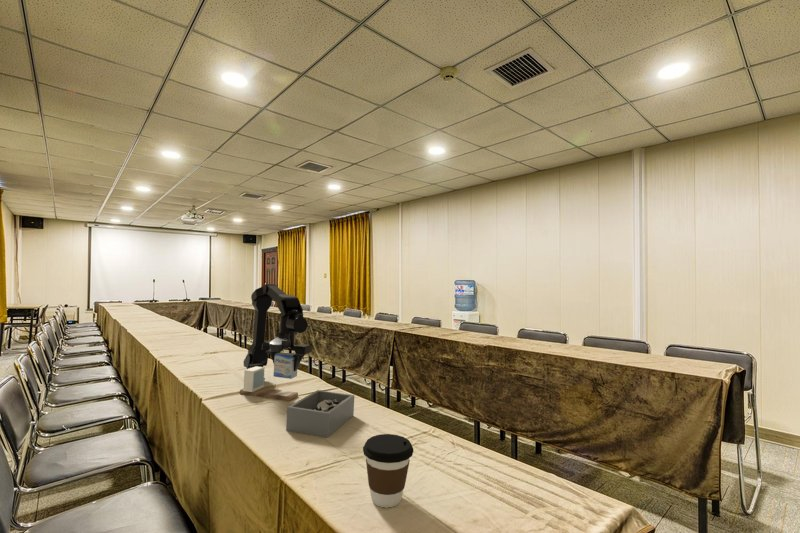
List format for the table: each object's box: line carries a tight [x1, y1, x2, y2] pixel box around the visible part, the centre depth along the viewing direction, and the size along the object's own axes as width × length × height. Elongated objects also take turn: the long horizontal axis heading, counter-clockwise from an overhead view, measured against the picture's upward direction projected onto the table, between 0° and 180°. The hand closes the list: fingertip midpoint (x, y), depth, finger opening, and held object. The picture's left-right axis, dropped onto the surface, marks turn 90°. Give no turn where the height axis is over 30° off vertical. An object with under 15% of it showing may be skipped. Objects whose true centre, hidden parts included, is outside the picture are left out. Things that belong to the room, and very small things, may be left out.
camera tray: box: [285, 389, 355, 438], centre depth 123 cm, size 14×19×7 cm
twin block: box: [243, 366, 266, 392], centre depth 150 cm, size 4×7×8 cm, turn 164°
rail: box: [239, 387, 299, 402], centre depth 148 cm, size 22×6×2 cm, turn 74°
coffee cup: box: [362, 433, 414, 509], centre depth 82 cm, size 11×11×12 cm
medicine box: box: [273, 351, 298, 380], centre depth 147 cm, size 8×4×9 cm, turn 73°
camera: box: [312, 399, 342, 412], centre depth 121 cm, size 13×8×9 cm, turn 152°
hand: (285, 369), depth 147 cm, fingers closed on medicine box, 8 cm apart
